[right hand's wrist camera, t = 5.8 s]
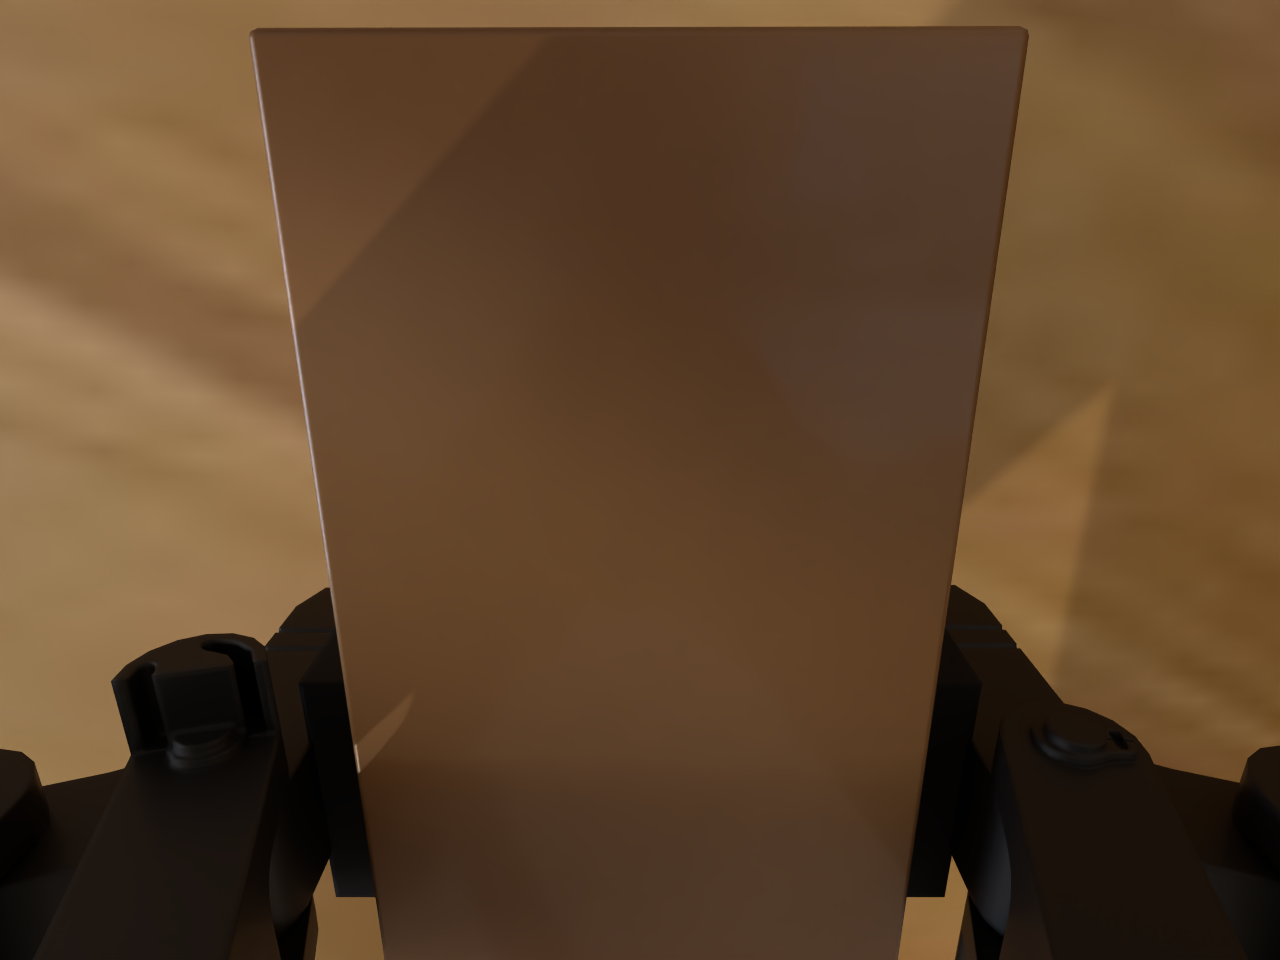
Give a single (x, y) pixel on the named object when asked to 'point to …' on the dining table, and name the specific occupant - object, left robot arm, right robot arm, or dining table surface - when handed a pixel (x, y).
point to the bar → (640, 461)
